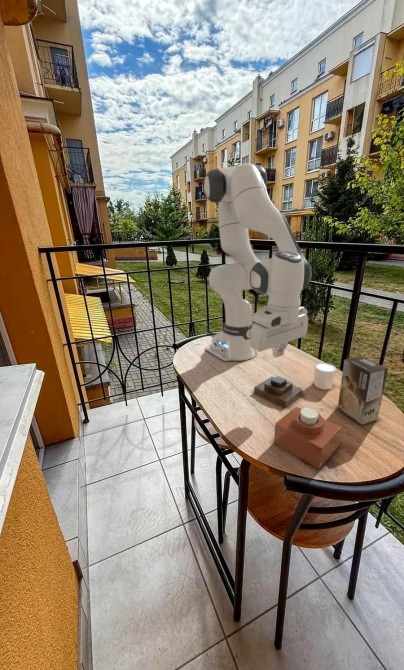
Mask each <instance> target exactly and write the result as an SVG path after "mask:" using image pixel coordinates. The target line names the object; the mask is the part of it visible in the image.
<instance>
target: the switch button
mask: <svg viewBox="0 0 404 670" xmlns="http://www.w3.org/2000/svg"><path fill="white" fill-rule="evenodd" d="M274 377H275V378H273V379H271V384H272V385H275V386H277V387H279V388H281V387H283V386H284V385H286V383H287V381H288V379H286V378H284V377H281V376H279V375H277V376H274Z"/></svg>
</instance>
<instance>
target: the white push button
mask: <svg viewBox="0 0 404 670" xmlns="http://www.w3.org/2000/svg"><path fill="white" fill-rule="evenodd" d="M301 409H302V410H301V412H300V420H301V422H304V423H306V424H310V425H313V424H316V423H317V420H318V414H319V413H318V411H317V410H315V409H313V408H310V407H304V408H301Z"/></svg>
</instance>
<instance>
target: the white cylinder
mask: <svg viewBox="0 0 404 670" xmlns="http://www.w3.org/2000/svg"><path fill="white" fill-rule="evenodd" d="M313 371H314V372H313V382H314V383H313V385H314V387H316V389H320V390H325V391H326V390H330V389H332V388H333V384H334V381H335V376H336V373H337V368H336V366H335V365H333V364H330V363H328V362H318V363H315V364H314V367H313Z"/></svg>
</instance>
